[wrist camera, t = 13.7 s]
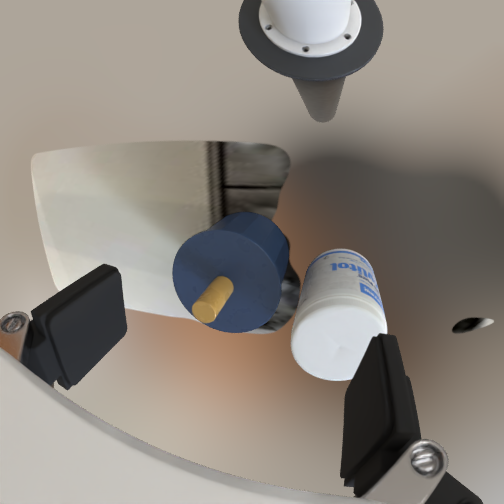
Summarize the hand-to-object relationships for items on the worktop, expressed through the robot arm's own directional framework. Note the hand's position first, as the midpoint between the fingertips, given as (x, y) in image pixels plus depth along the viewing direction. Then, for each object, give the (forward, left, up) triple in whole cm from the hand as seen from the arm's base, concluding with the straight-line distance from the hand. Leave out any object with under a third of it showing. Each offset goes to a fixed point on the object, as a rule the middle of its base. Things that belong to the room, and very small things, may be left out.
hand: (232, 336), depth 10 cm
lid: (+9, -6, -19) cm, 22 cm away
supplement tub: (+10, +7, -28) cm, 31 cm away
